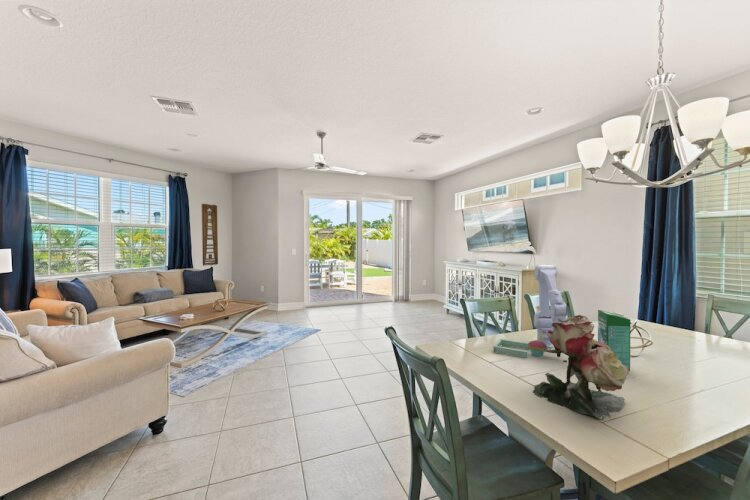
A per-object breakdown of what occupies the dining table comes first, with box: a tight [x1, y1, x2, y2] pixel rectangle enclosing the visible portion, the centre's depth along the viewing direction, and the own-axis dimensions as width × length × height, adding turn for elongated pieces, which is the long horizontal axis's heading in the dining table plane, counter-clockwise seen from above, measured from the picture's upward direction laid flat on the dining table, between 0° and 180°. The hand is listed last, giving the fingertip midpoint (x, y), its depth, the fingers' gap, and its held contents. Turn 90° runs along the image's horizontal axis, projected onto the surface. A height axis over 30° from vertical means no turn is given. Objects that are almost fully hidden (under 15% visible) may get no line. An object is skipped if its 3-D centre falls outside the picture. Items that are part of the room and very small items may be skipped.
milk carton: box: [597, 309, 631, 372], centre depth 149 cm, size 9×9×25 cm
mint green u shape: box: [493, 338, 531, 359], centre depth 172 cm, size 15×16×3 cm
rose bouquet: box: [532, 314, 630, 421], centre depth 120 cm, size 26×29×30 cm
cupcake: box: [527, 331, 548, 357], centre depth 165 cm, size 9×8×12 cm
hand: (558, 356), depth 160 cm, fingers closed
